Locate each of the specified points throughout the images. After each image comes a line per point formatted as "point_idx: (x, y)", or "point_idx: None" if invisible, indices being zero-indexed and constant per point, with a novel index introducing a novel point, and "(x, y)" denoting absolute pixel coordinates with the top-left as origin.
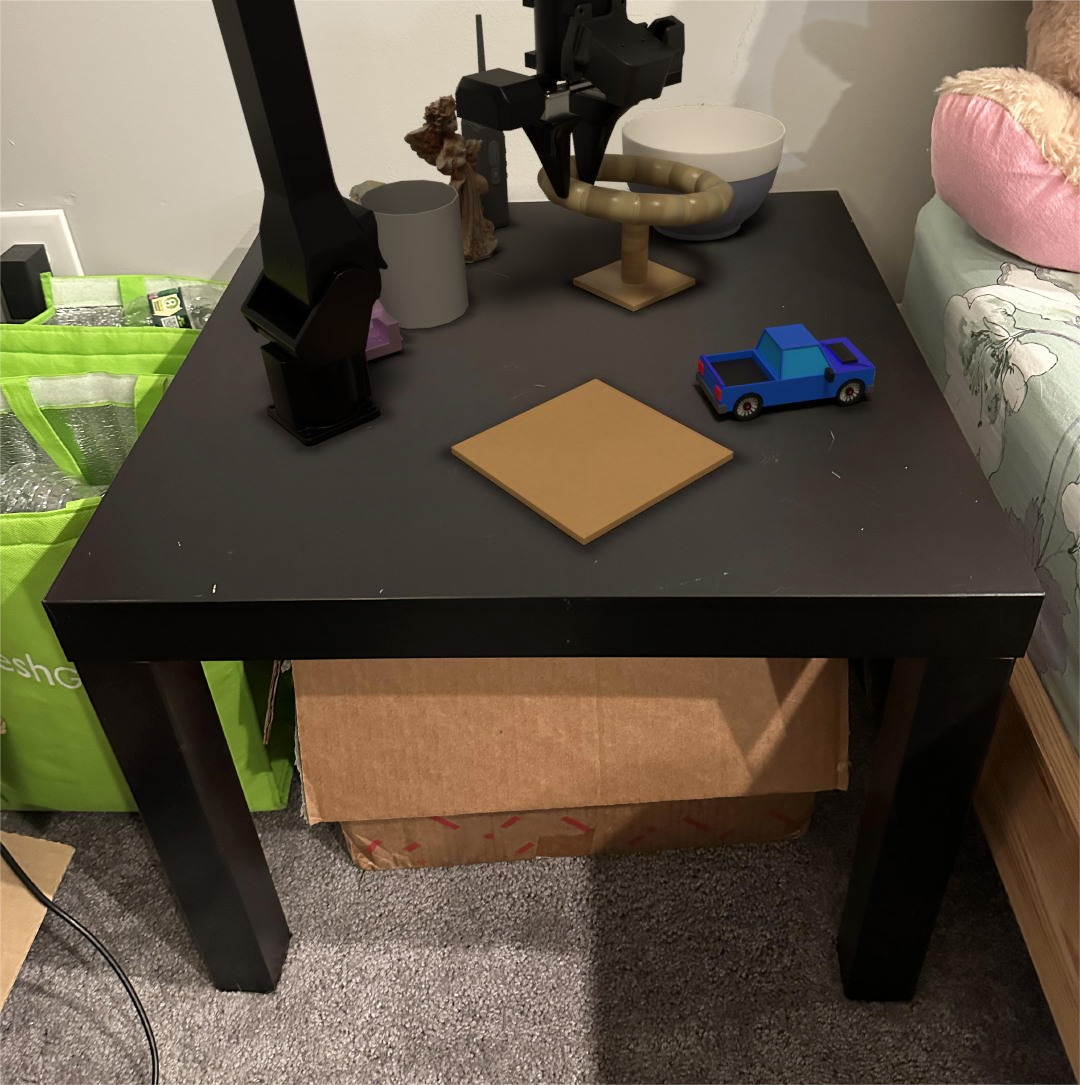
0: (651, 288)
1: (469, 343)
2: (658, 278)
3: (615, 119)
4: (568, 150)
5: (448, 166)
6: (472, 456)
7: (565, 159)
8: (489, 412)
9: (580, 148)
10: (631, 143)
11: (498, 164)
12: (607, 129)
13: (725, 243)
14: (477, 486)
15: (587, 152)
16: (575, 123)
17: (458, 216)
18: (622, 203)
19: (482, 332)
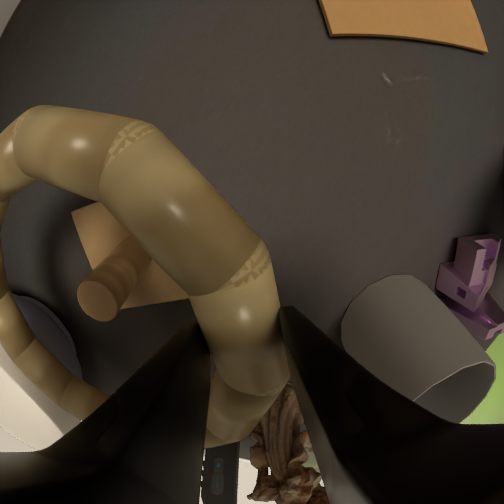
0: None
1: (401, 218)
2: (107, 236)
3: (46, 456)
4: (331, 399)
5: (313, 475)
6: (479, 29)
7: (335, 372)
8: (445, 76)
9: (192, 433)
10: (63, 429)
11: (214, 473)
12: (90, 441)
13: (24, 284)
14: (476, 10)
15: (181, 409)
16: (421, 500)
17: (401, 378)
18: (168, 159)
19: (376, 234)
